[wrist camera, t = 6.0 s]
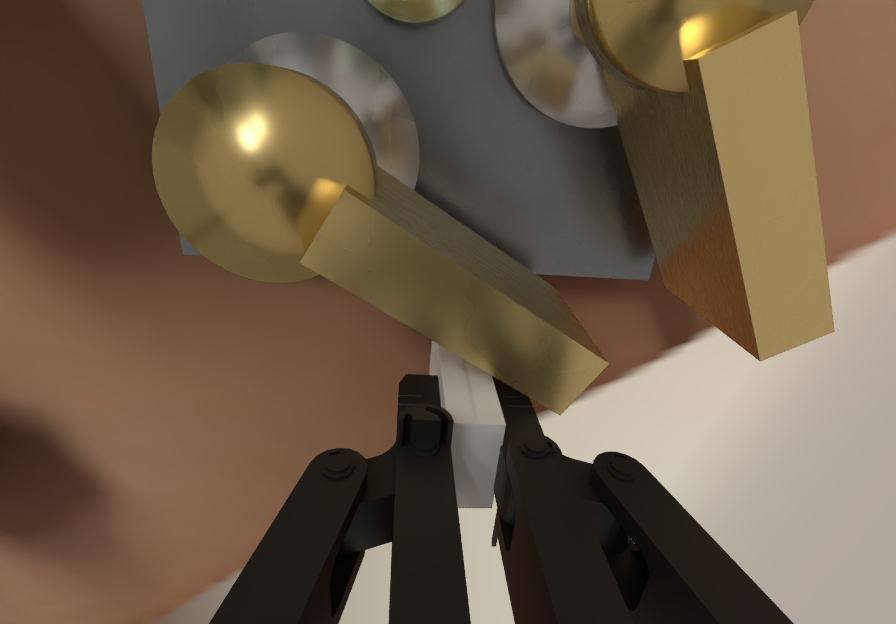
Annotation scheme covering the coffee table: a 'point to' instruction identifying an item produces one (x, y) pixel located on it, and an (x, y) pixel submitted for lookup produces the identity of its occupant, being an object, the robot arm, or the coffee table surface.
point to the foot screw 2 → (720, 157)
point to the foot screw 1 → (353, 226)
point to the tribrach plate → (449, 111)
